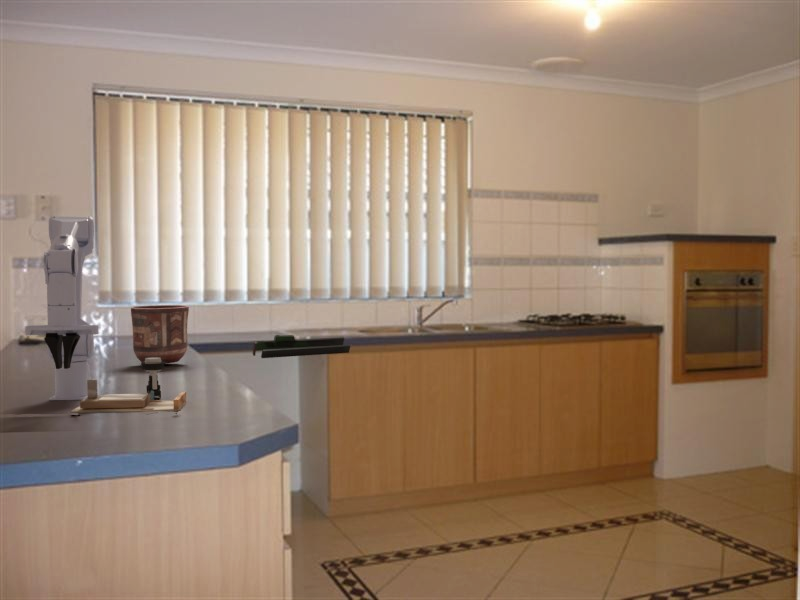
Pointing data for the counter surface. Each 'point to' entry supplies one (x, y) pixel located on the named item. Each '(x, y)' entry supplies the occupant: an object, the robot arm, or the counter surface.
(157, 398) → the push button
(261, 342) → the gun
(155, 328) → the pottery
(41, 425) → the counter surface
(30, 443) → the counter surface
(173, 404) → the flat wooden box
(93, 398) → the carriage
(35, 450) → the counter surface
